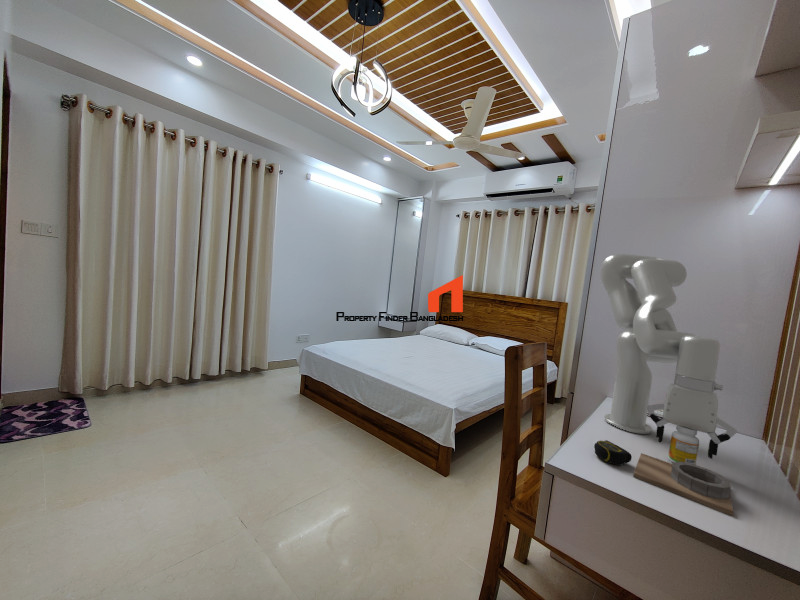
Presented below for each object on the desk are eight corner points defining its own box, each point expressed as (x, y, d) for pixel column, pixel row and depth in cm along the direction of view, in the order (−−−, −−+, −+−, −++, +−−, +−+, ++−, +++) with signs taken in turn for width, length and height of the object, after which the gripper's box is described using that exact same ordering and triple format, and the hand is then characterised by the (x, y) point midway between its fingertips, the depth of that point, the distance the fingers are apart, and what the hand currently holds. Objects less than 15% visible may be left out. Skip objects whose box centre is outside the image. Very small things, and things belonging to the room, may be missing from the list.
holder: (640, 456, 84) (642, 443, 83) (727, 487, 73) (729, 473, 73) (633, 476, 73) (635, 462, 73) (732, 516, 62) (735, 499, 62)
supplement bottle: (671, 455, 86) (676, 420, 86) (697, 465, 82) (703, 429, 82) (665, 460, 83) (670, 424, 83) (692, 471, 79) (698, 433, 78)
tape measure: (632, 466, 78) (634, 452, 78) (611, 469, 76) (613, 454, 76) (606, 452, 85) (608, 438, 85) (587, 453, 83) (589, 439, 82)
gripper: (740, 391, 78) (730, 458, 79) (652, 373, 90) (644, 431, 91) (744, 397, 73) (733, 469, 74) (649, 376, 85) (641, 439, 85)
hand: (684, 448), depth 82 cm, fingers open, 9 cm apart
